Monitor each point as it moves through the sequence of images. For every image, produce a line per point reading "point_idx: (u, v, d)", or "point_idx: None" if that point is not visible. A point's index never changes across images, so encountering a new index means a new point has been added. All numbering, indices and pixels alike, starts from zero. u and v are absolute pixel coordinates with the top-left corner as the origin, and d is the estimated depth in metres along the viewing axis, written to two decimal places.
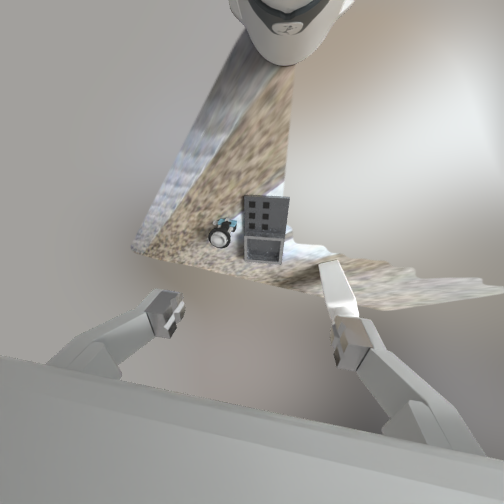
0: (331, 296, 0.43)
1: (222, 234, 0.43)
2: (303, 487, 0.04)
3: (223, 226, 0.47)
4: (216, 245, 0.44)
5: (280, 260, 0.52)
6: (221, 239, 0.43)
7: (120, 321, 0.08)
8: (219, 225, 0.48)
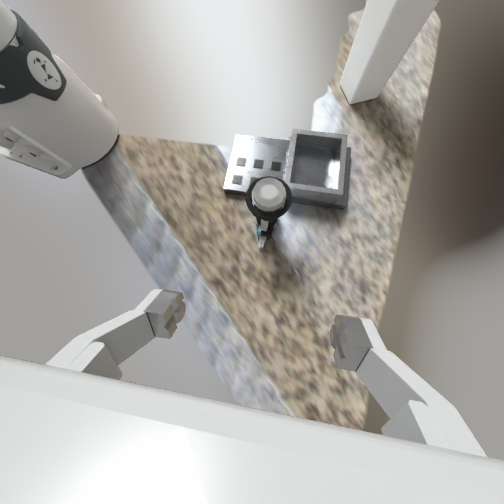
0: None
1: None
2: (303, 487, 0.04)
3: None
4: (279, 196, 0.20)
5: (337, 135, 0.29)
6: (265, 184, 0.20)
7: (120, 321, 0.08)
8: (261, 226, 0.26)
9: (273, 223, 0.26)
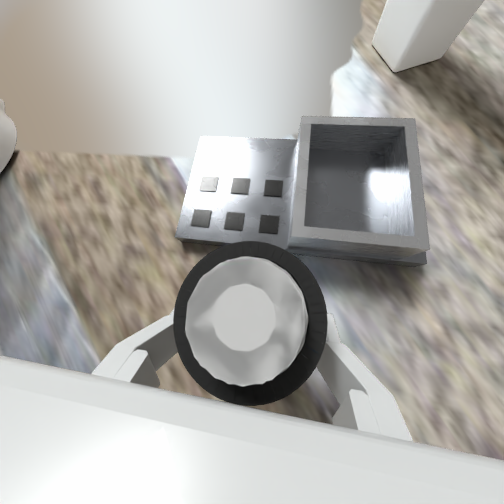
0: None
1: None
2: (303, 487, 0.04)
3: None
4: (283, 338, 0.05)
5: (394, 121, 0.14)
6: (230, 283, 0.06)
7: (158, 327, 0.08)
8: None
9: None
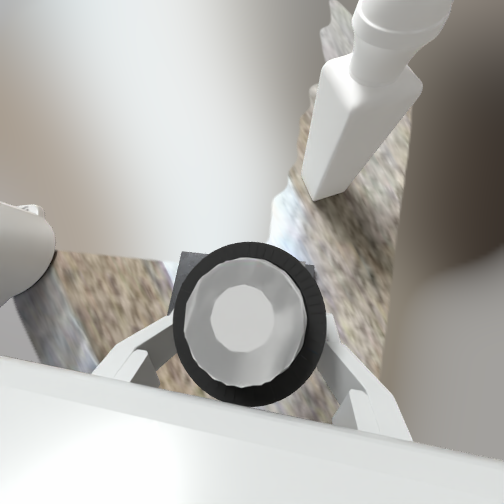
0: (336, 119, 0.18)
1: None
2: (303, 487, 0.04)
3: None
4: (282, 338, 0.05)
5: None
6: (228, 284, 0.06)
7: (158, 327, 0.08)
8: None
9: None
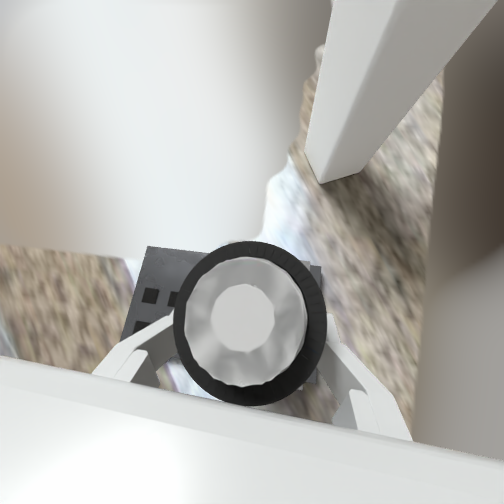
0: (366, 31, 0.11)
1: None
2: (303, 487, 0.04)
3: None
4: (282, 338, 0.05)
5: None
6: (229, 283, 0.06)
7: (158, 327, 0.08)
8: None
9: None
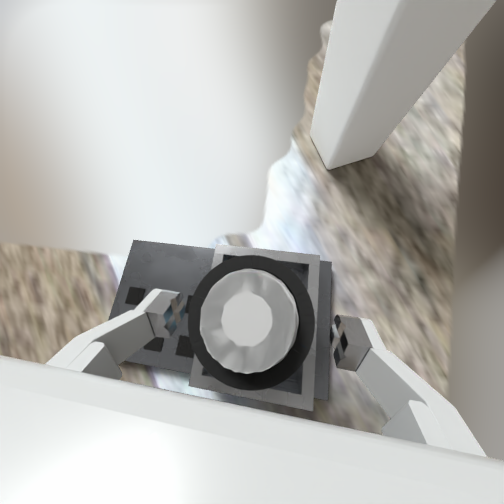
0: None
1: None
2: (303, 487, 0.04)
3: None
4: (278, 335, 0.06)
5: (301, 257, 0.15)
6: (235, 292, 0.07)
7: (120, 321, 0.08)
8: None
9: None
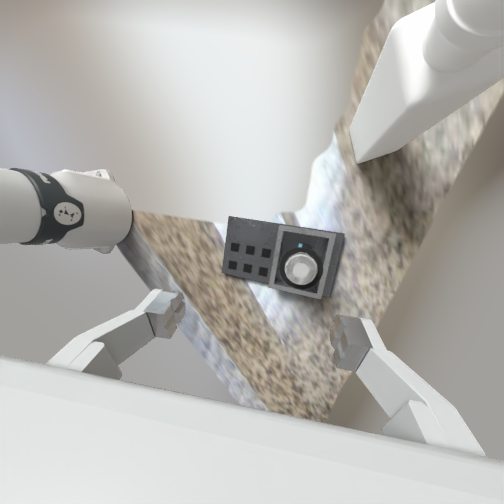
0: (393, 102, 0.16)
1: (290, 259, 0.23)
2: (303, 487, 0.04)
3: None
4: (310, 275, 0.22)
5: (325, 234, 0.28)
6: (297, 262, 0.22)
7: (120, 321, 0.08)
8: None
9: None
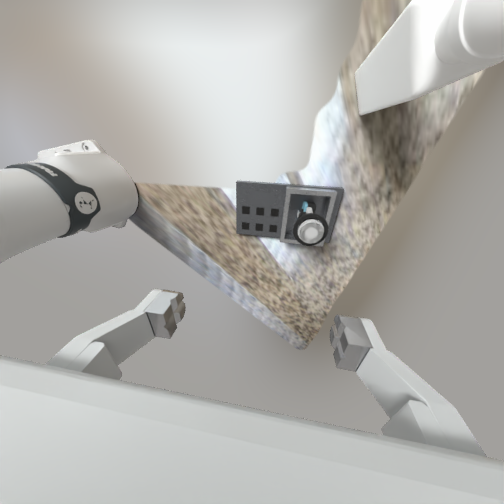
0: (402, 82, 0.17)
1: (302, 224, 0.28)
2: (303, 487, 0.04)
3: None
4: (318, 236, 0.28)
5: (328, 193, 0.32)
6: (308, 227, 0.28)
7: (120, 321, 0.08)
8: None
9: None
